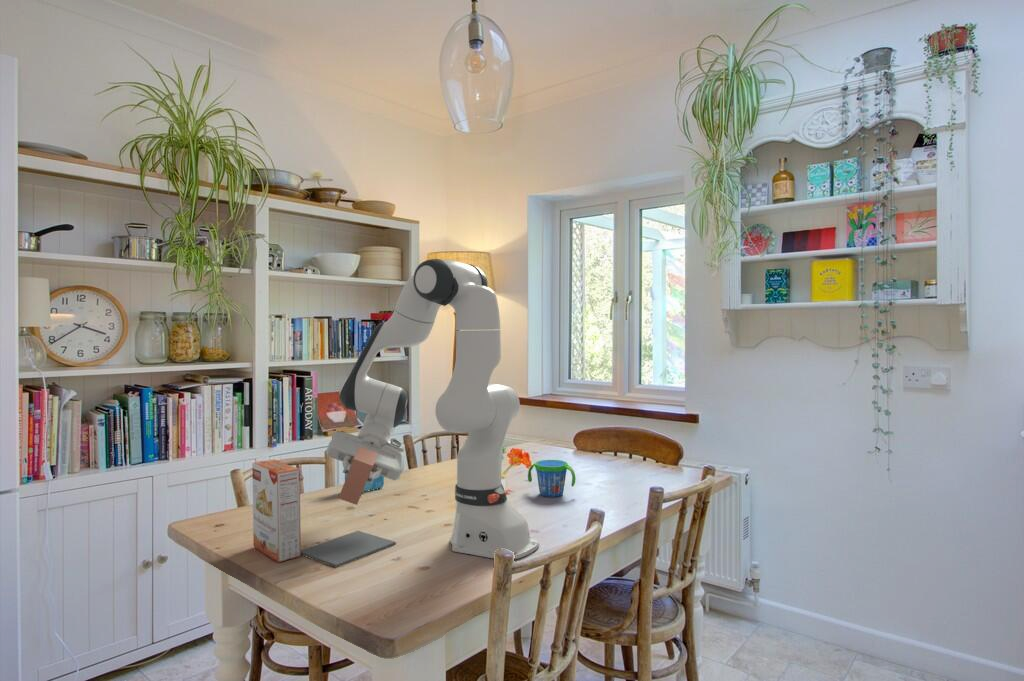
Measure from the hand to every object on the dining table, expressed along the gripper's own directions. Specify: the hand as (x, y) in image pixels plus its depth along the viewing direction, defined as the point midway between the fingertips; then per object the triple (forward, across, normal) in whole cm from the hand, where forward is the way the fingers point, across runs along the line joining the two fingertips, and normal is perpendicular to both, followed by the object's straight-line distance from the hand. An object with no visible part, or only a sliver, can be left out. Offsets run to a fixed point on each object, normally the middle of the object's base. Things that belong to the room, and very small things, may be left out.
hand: (358, 476), depth 155 cm
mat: (+13, +4, +10) cm, 17 cm away
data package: (-34, +3, +36) cm, 50 cm away
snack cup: (-33, +59, +10) cm, 68 cm away
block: (-1, 0, +8) cm, 8 cm away
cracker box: (+17, -11, +16) cm, 25 cm away
